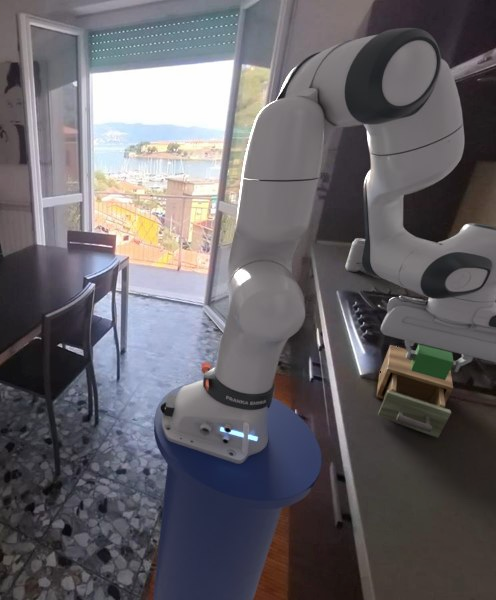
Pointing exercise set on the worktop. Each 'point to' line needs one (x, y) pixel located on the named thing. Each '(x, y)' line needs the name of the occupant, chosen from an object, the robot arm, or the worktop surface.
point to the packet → (432, 362)
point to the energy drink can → (355, 255)
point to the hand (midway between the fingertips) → (430, 364)
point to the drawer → (414, 405)
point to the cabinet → (407, 372)
